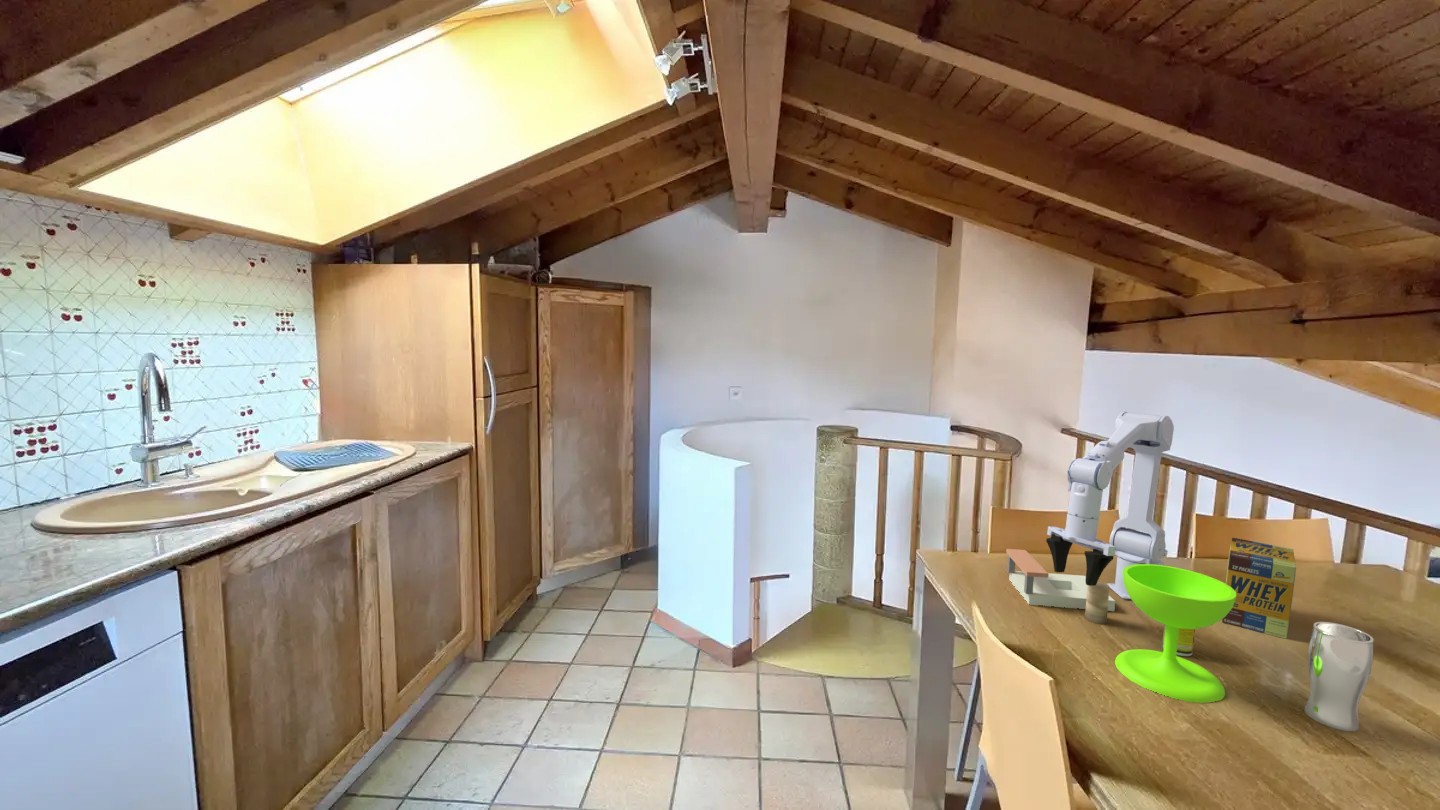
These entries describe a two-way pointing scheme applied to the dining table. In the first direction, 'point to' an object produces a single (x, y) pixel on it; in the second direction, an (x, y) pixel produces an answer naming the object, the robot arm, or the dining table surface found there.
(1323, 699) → the beer glass
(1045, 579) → the socket board
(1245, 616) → the protein box
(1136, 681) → the wineglass
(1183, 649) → the supplement bottle
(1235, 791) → the dining table surface
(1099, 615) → the peg
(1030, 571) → the pink miniature bench
